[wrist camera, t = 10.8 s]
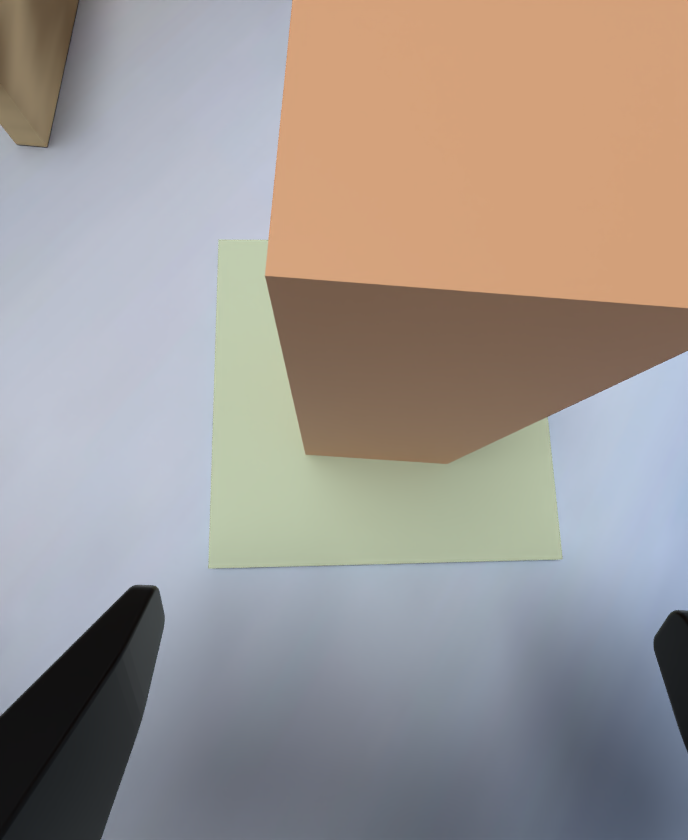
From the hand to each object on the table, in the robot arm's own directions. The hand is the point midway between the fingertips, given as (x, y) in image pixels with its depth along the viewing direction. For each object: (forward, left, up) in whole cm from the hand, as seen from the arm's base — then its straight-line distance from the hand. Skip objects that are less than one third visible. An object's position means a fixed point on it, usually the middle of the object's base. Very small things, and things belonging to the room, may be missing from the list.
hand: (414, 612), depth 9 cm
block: (+1, +6, -8) cm, 10 cm away
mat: (+1, +6, -9) cm, 11 cm away
